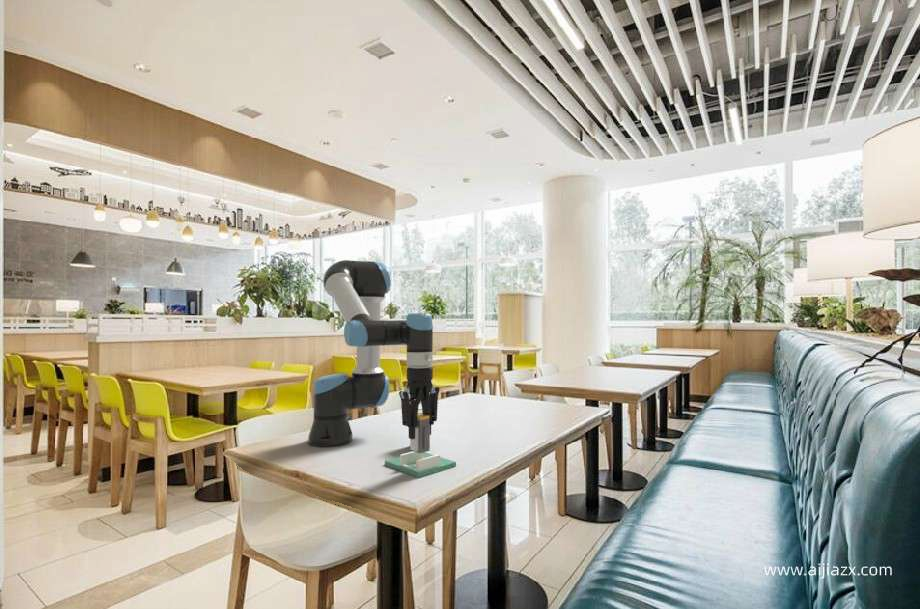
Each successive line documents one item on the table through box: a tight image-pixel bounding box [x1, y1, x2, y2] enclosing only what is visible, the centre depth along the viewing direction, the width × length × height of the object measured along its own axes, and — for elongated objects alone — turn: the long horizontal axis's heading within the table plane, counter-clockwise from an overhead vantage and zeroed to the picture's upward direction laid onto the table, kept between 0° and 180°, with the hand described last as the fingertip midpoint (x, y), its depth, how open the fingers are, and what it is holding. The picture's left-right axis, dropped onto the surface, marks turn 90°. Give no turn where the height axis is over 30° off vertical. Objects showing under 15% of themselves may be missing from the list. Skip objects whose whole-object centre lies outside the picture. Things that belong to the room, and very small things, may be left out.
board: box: [384, 451, 457, 478], centre depth 137 cm, size 16×14×4 cm
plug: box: [410, 414, 431, 453], centre depth 134 cm, size 5×4×10 cm
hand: (420, 448), depth 134 cm, fingers closed on plug, 3 cm apart
